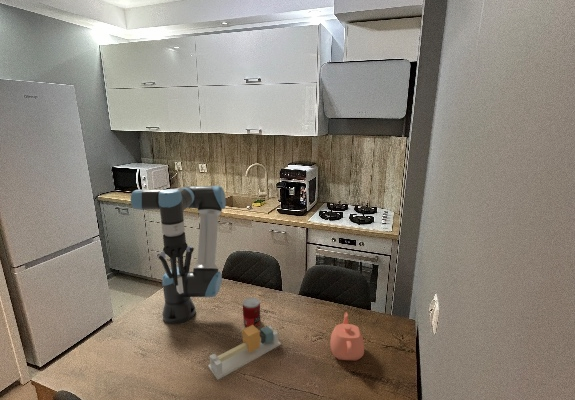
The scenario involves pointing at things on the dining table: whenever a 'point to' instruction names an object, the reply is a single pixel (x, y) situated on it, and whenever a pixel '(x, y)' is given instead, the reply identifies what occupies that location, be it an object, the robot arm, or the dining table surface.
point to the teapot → (347, 341)
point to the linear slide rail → (243, 354)
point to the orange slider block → (251, 337)
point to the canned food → (251, 312)
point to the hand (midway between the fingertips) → (180, 291)
